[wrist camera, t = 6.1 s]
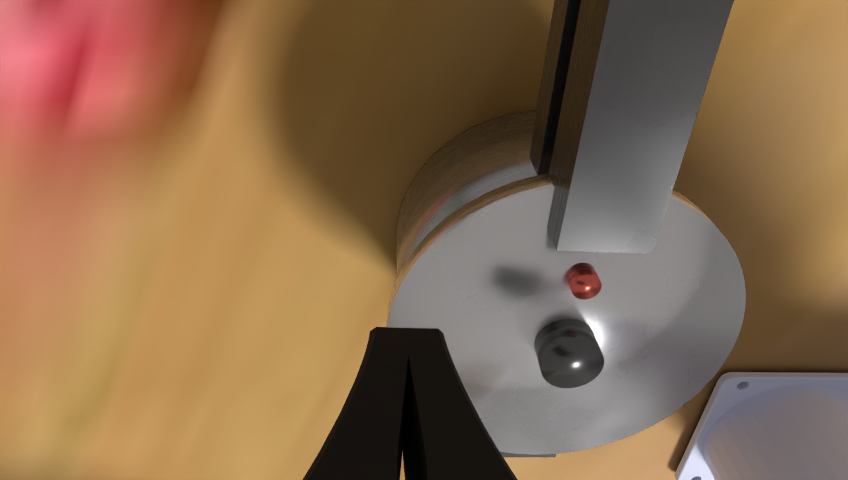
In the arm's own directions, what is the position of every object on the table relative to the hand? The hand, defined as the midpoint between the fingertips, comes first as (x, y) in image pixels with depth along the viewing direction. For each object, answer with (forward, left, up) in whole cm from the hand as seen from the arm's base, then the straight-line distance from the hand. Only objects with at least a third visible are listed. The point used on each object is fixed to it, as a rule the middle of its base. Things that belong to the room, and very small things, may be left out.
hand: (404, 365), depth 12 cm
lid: (-5, +1, -5) cm, 7 cm away
